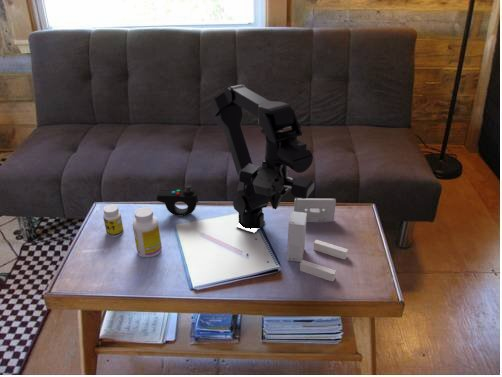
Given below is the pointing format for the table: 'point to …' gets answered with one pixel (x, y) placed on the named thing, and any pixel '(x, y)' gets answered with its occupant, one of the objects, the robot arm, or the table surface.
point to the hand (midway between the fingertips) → (275, 208)
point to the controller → (179, 200)
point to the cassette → (323, 205)
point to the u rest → (321, 270)
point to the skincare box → (296, 236)
